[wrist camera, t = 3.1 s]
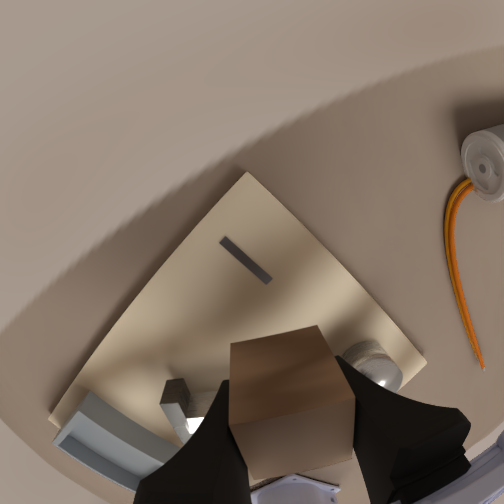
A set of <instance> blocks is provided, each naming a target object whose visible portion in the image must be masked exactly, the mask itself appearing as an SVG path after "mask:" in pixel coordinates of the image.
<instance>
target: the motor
mask: <svg viewBox="0 0 504 504" xmlns="http://www.w3.org/2000/svg"><path fill="white" fill-rule="evenodd" d="M461 159H462V163H463V168H464V172H465V176H466V177H467V179H466V180H464V181H463V182H461V183H460V184H459V185H458V186H457V187H456V188H455V190H454V191H453V193H452V194H451V196H450V198H449V201H448V204H447V208H446V213H445V221H444V236H445V249H446V256H447V262H448V267H449V272H450V277H451V281H452V285H453V289H454V293H455V297H456V300H457V304H458V307H459V310H460V314H461V317H462V320H463V323H464V326H465V329H466V332H467V335H468V338H469V340H470V343H471V345H472V348H473V350H474V353H475V356H476V353H477V356H478V359H479V362H480V365H481V368H482V370H483V372H485V368H484V367H485V366H484V362H483V359H482V355H481V352H480V349H479V346H478V343H477V339H476V336H475V333H474V329H473V326H472V323H471V320H470V316H469V313H468V309H467V306H466V302H465V298H464V294H463V290H462V286H461V281H460V277H459V272H458V267H457V260H456V253H455V243H454V226H455V218H456V213H457V210H458V207H459V205H460V203H461V201H462V199H463V198H464V197H465V196H466V195H467V194H468V193H469V192H470V191H472V190H474V191H475V192H476V194H477V195H479V196H480V197H481V198H483V199H484V200H486V201H489V202H499V201H501V200H503V199H504V124H501V125H498V126H494V127H491V128H487V129H484V130H480V131H477V132H473V133H471V134H469V135H468V136H467V137H466V138H465V140H464V142H463V144H462V148H461ZM469 184H470V185H469ZM467 185H469V186H467ZM466 186H467V187H466ZM464 187H466V188H465V189H464V190H463V191H462V192H461V193H460V194H459V192H460V191H461V190H462V189H463V188H464ZM458 194H459V195H458ZM457 195H458V197H457ZM456 197H457V198H456ZM455 199H456V200H455ZM454 201H455V202H454ZM453 203H454V205H453ZM452 206H453V207H452ZM451 210H452V211H451ZM476 359H477V357H476Z"/></svg>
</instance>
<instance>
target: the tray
mask: <svg viewBox="0 0 504 504" xmlns="http://www.w3.org/2000/svg"><path fill="white" fill-rule="evenodd" d="M52 444H53V445H55V446H56V447H57V448H59V449H60V450H62V451H63V452H64V453H66V454H67V455H69V456H70V457H72V458H73V459H75V460H76V461H78V462H79V463H81V464H82V465H84V466H86V467H87V468H89V469H90V470H92V471H94V472H96V473H97V474H99V475H101V476H102V477H104V478H106V479H108V480H110V481H112V482H113V483H115V484H117V485H119V486H121V487H123V488H125V489H127V490H129V491H131V492H133V493H135V494H136V490H137V487H138V485H139V482H140V480H142V479H144V478H145V477H147V476H148V475H150V474H151V473H153V472H154V471H156V470H157V469H158V468H160V467H161V466H162V465H164V464H165V463H166V462H167V461H168V460H169V459H171V458H172V457H173V456H174V455H175V454H176V453H177V452H178V451H179V450H180V449H181V448H180V447H178V446H176V445H174V444H172V443H170V442H168V441H166V440H165V439H163V438H161V437H159V436H158V435H156V434H154V433H152V432H151V431H149V430H147V429H146V428H144V427H142V426H141V425H139V424H138V423H136V422H134V421H133V420H131V419H130V418H128V417H127V416H125V415H124V414H122V413H121V412H119V411H118V410H116V409H115V408H113V407H112V406H111V405H109V404H108V403H106V402H105V401H104V400H102V399H101V398H100V397H98V396H97V395H96V394H94V393H93V392H92V391H89V393H88V394H87V395H86V396H85V397H84V399H83V400H82V401H81V402H80V404H79V405H78V406H77V407H76V409H75V410H74V411H73V412H72V414H71V415H70V416H69V417H68V419H67V420H66V421H65V422H64V424H63V425H62V426H61V428H60V430H59V431H58V433H57V435H56V437H55V438H54V440H53V442H52Z"/></svg>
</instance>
